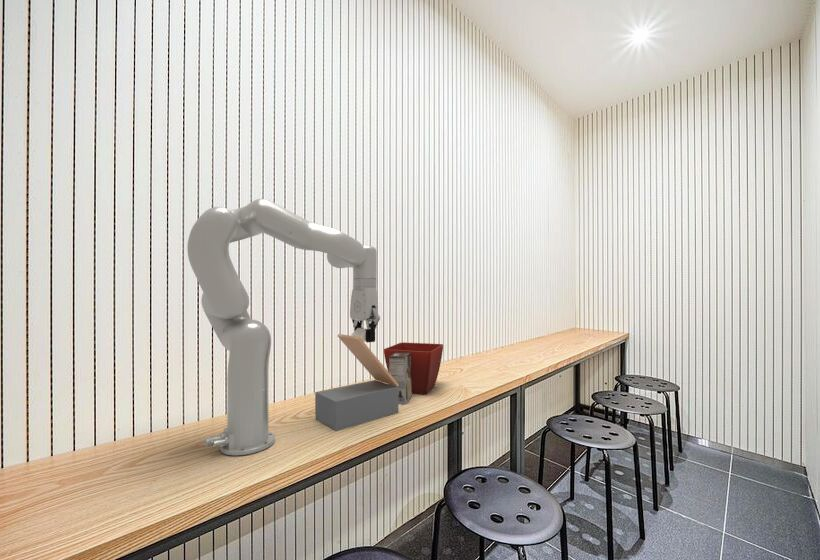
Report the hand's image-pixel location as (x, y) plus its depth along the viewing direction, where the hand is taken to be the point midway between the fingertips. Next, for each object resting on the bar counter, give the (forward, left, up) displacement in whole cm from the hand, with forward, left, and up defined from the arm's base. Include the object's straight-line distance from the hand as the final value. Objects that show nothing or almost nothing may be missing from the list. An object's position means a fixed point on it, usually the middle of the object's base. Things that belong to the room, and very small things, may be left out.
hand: (364, 340), depth 112 cm
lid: (+1, 0, -7) cm, 7 cm away
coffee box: (+17, +3, -23) cm, 29 cm away
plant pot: (+30, +10, -23) cm, 40 cm away
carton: (-3, 0, -23) cm, 23 cm away
